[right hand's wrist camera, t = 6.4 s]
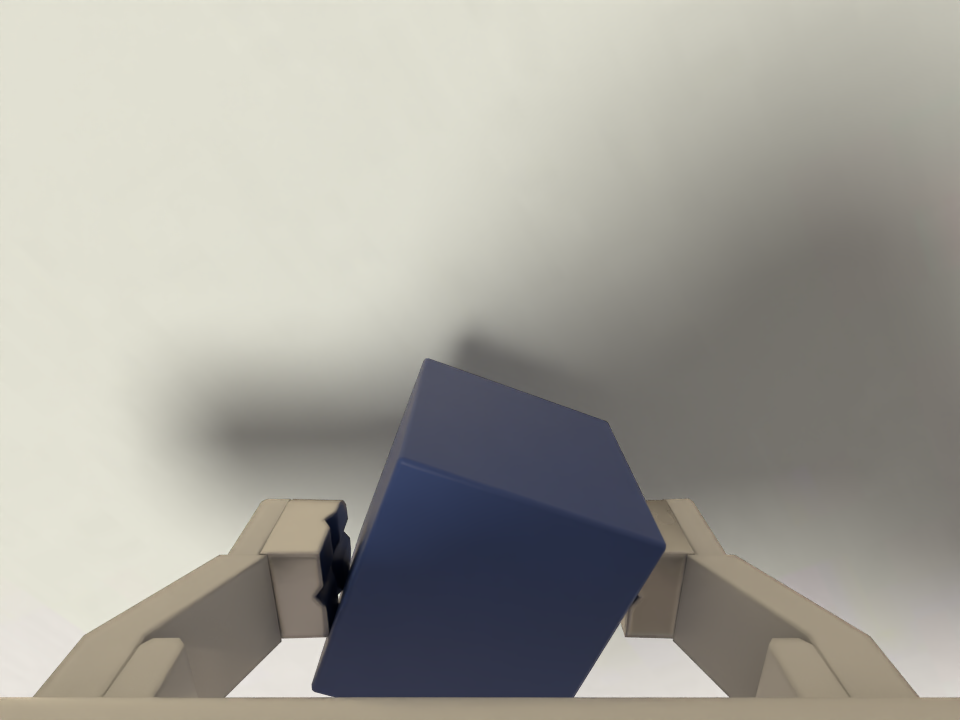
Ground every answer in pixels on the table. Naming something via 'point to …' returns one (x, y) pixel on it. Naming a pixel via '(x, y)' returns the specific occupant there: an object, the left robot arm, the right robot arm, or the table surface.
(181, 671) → the right robot arm
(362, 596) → the block
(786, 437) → the table surface
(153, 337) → the table surface
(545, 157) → the table surface
